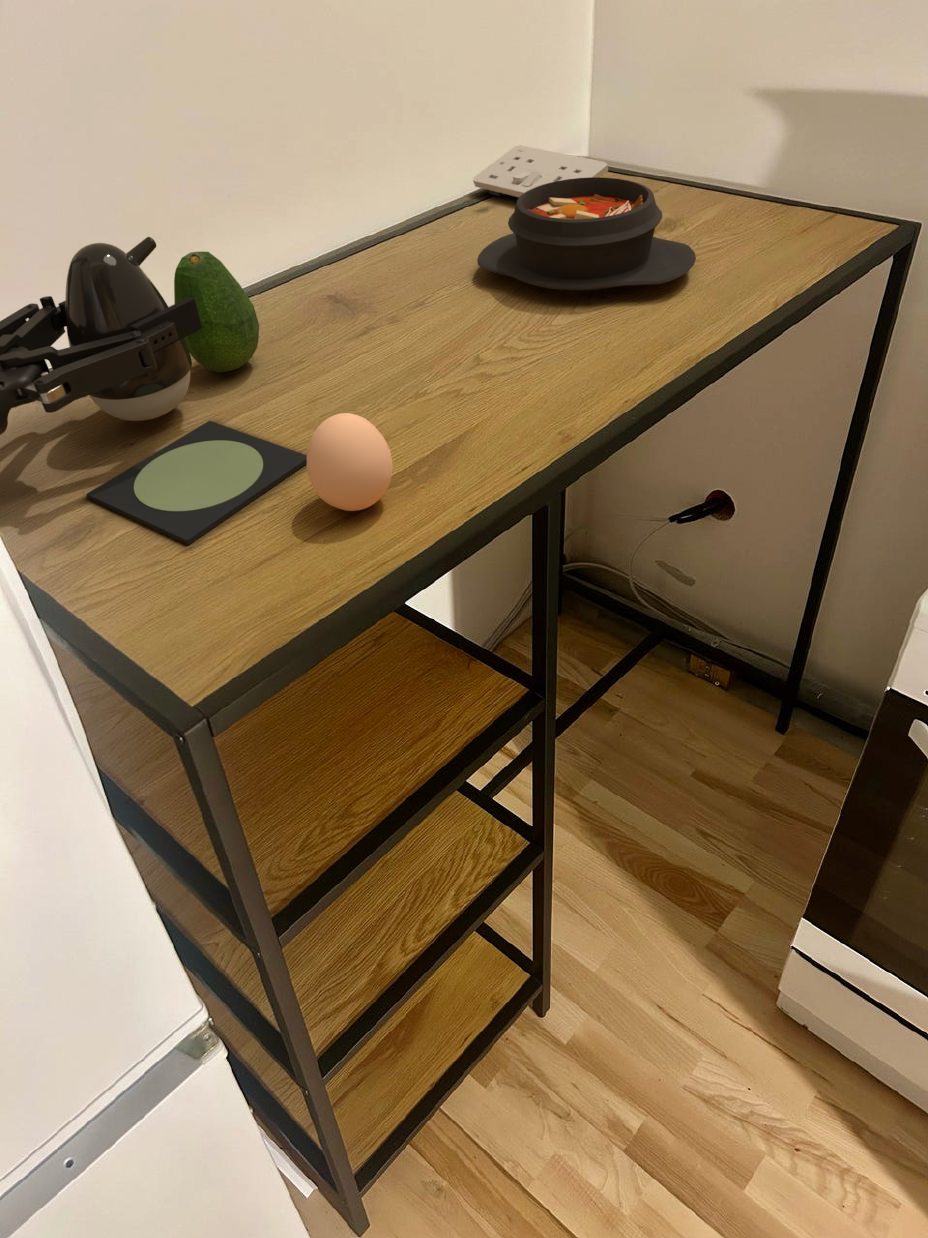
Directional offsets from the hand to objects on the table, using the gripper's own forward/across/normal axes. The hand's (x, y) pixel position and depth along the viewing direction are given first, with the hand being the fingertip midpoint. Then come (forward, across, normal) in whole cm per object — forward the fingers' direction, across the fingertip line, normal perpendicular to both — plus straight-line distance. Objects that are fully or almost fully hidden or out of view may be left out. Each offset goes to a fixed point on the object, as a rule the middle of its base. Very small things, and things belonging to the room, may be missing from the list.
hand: (158, 302), depth 84 cm
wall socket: (+64, -1, -10) cm, 65 cm away
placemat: (-10, +13, -10) cm, 19 cm away
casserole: (+43, +19, -10) cm, 49 cm away
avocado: (+6, -1, -10) cm, 12 cm away
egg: (-6, +27, -10) cm, 29 cm away
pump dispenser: (-4, 0, -9) cm, 10 cm away
